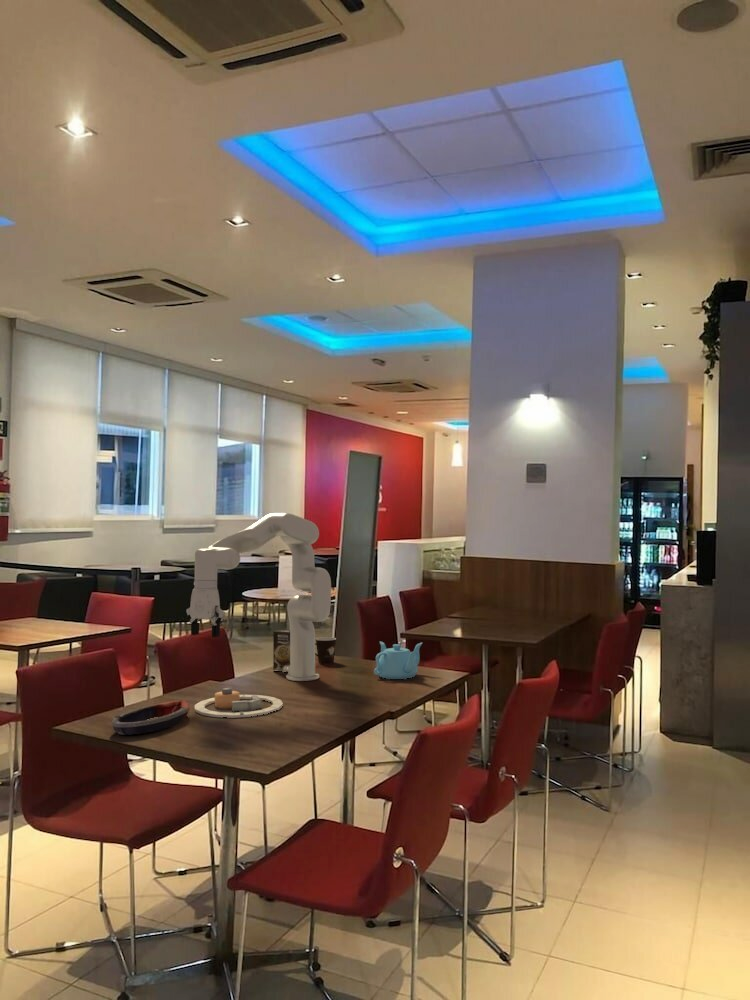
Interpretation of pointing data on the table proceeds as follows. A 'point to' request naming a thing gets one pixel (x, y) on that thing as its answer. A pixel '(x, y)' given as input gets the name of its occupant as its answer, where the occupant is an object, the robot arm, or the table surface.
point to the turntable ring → (276, 706)
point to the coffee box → (281, 649)
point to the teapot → (397, 662)
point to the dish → (138, 717)
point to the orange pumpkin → (226, 698)
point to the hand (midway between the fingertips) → (205, 635)
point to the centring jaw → (247, 704)
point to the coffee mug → (325, 649)
